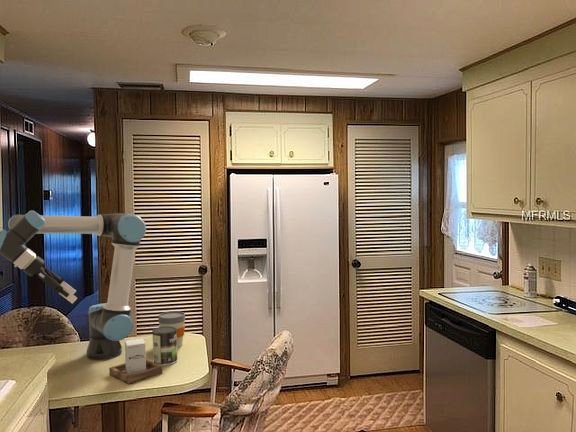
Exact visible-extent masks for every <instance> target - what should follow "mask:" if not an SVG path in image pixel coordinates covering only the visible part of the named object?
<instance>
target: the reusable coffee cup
mask: <svg viewBox="0 0 576 432" xmlns="http://www.w3.org/2000/svg"><path fill="white" fill-rule="evenodd" d="M157 319H158V320H157V321H158V322H157V323H158V324H159V325H158V326H159V327H165V326H170V327H175V328H177V349H178V348H181V347H182V346H183V341H184V336H185V330H186V329H185V328H186V324H185V321H186V315H185V312H183V311H179V310H172V311H163V312H162V313H159V315H158V318H157Z"/></svg>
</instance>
